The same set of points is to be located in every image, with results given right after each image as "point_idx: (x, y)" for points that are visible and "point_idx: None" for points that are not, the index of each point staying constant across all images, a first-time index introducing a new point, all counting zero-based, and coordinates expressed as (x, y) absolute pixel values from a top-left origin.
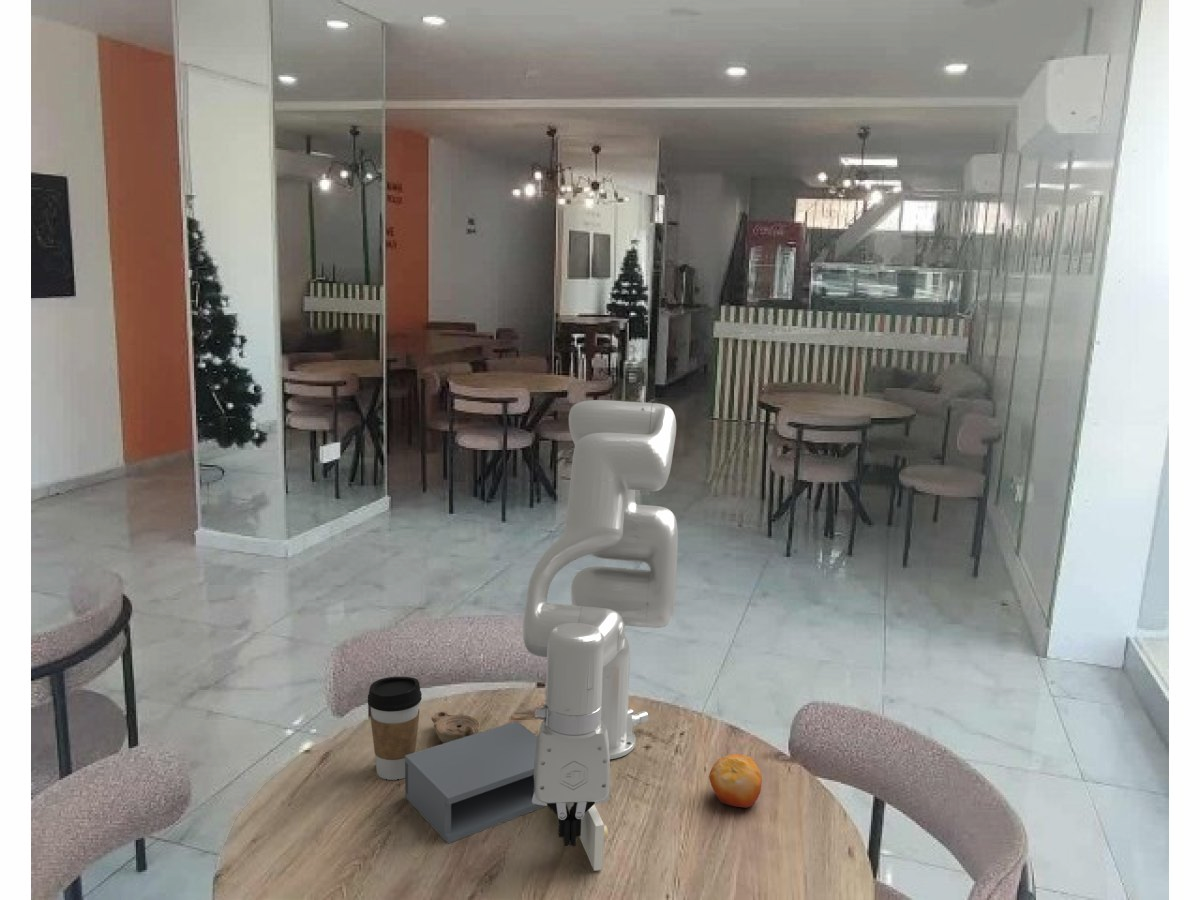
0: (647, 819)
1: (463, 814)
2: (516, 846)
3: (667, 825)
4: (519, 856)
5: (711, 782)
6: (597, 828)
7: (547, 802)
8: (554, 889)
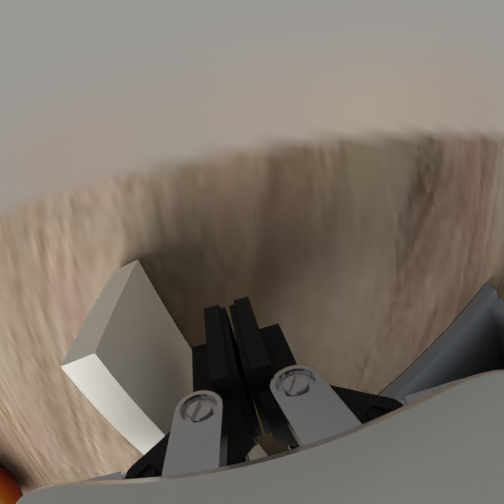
0: (87, 449)
1: (466, 361)
2: (372, 316)
3: (45, 435)
4: (364, 281)
5: (11, 500)
6: (91, 347)
7: (457, 383)
8: (248, 153)
